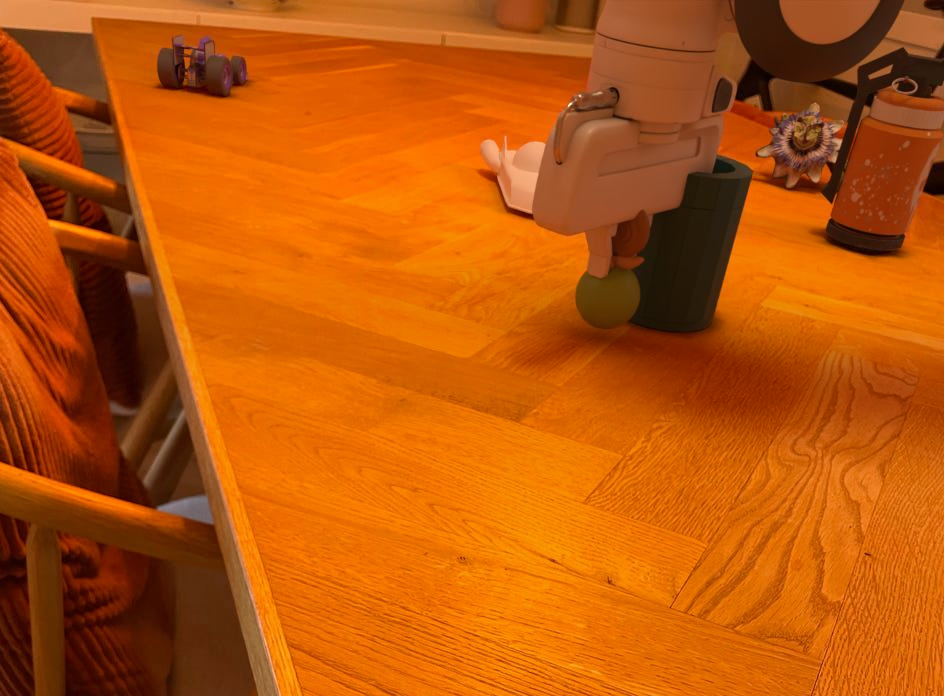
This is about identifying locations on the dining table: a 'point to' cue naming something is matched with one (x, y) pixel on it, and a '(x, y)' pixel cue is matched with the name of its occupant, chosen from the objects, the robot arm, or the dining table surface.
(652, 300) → the jar
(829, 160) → the passion flower
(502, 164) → the white domed toy
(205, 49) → the toy race car
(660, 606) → the dining table surface
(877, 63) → the canister
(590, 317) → the snail figurine
